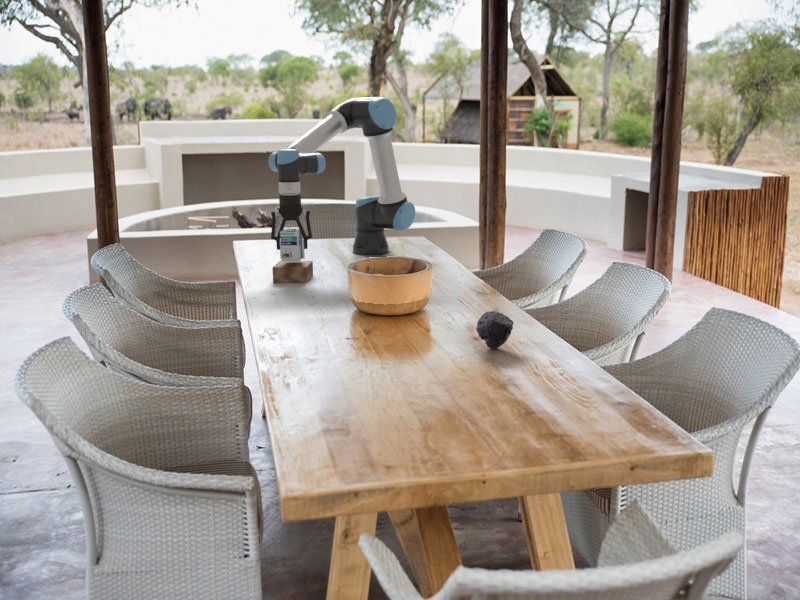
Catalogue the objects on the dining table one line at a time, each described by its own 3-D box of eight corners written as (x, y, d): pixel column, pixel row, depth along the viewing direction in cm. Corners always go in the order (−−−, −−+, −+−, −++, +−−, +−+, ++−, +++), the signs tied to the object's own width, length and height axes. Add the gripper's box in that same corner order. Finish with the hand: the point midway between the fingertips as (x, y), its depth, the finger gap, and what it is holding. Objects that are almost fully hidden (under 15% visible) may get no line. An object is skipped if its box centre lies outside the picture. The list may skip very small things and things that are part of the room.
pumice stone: (483, 355, 210) (483, 317, 207) (470, 347, 217) (471, 310, 214) (520, 351, 213) (521, 313, 211) (506, 343, 220) (507, 306, 218)
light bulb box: (300, 261, 292) (298, 231, 289) (281, 262, 292) (279, 231, 289) (303, 256, 302) (302, 226, 300) (285, 256, 302) (284, 226, 300)
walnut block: (313, 276, 304) (312, 260, 303) (306, 284, 293) (306, 267, 291) (280, 276, 305) (280, 260, 304) (273, 284, 294) (272, 267, 292)
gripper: (260, 195, 287) (263, 261, 292) (318, 194, 289) (320, 259, 294) (261, 193, 294) (265, 257, 300) (318, 192, 296) (320, 255, 301)
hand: (292, 258), depth 297 cm, fingers closed on light bulb box, 7 cm apart
